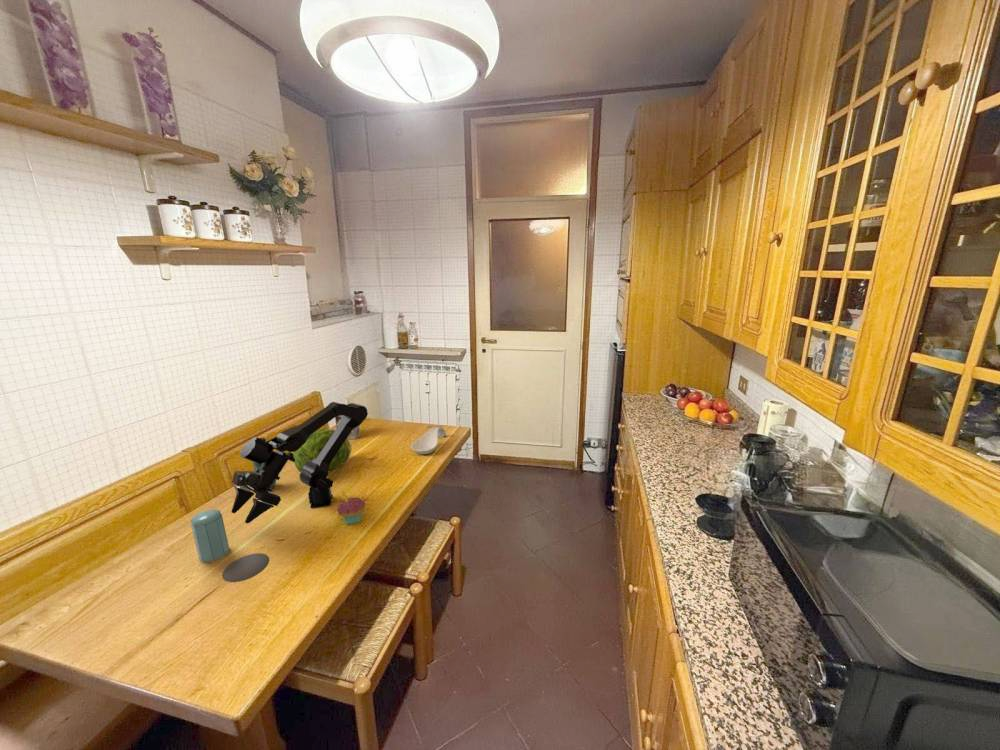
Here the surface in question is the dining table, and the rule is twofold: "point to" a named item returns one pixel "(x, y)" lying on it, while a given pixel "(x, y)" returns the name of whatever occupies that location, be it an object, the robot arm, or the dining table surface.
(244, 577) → the disc
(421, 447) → the spoon rest
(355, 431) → the coffee box
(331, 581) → the dining table surface
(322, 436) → the lettuce
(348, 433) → the robot arm
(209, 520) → the blue-grey tall faceted cylinder
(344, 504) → the cupcake
